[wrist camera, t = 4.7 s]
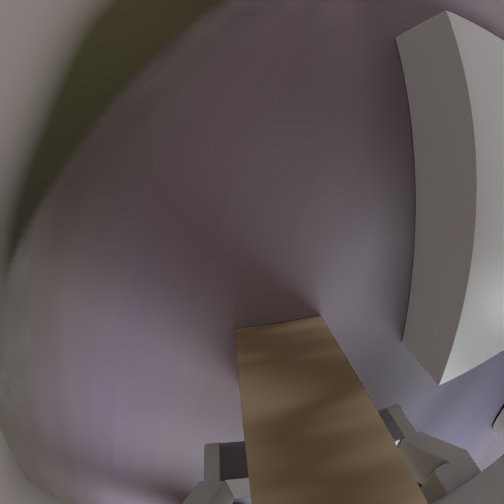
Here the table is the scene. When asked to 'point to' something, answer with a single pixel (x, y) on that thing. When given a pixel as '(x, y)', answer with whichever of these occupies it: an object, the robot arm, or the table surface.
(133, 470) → the table surface
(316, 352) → the birch peg
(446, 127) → the socket block
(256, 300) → the table surface
